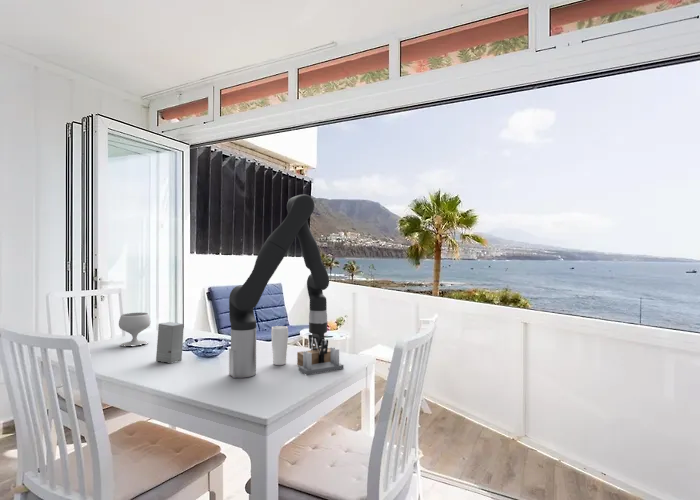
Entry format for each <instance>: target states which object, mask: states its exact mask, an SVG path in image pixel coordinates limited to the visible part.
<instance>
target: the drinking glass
mask: <svg viewBox="0 0 700 500" xmlns="http://www.w3.org/2000/svg"><path fill="white" fill-rule="evenodd" d="M270 337H271V348H272V349H271V350H272V362H273V363H272V364H273V365H275V366H283V365H286V364H287V355H288V353H287V351H288V343H289V327H288V326H286V325H276V326H271V335H270Z"/></svg>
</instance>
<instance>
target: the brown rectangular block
mask: <svg viewBox="0 0 700 500" xmlns="http://www.w3.org/2000/svg"><path fill="white" fill-rule="evenodd" d="M303 351H304V350H303ZM303 351H297V354H296V355H297V358H296V359H297V360H296V363H297V365H298V367H299V366H303ZM307 351H308V353H312V364H318V363H319V353H318V349H317V350H311V349H309V350H307ZM320 351H321V349H320ZM325 362H331V347H328V350H327V354H324V363H325Z"/></svg>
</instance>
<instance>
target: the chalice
mask: <svg viewBox="0 0 700 500" xmlns="http://www.w3.org/2000/svg"><path fill="white" fill-rule="evenodd" d="M150 326H151V317H150V315H149V313H148V312H130V313H124V314H123V313H122V314H121V315H120V317H119V321H118V327H119V329H120V330H122V331H123V332H126V333H128V334H130V335H131V336H132V339H131V340H130V341H127V342H123V343H120V346H121V345H125V346H124V347H126V346H131V345H140V344H145V345H147V344H148V343H147V342H148V341H147V340H139V339H138V335H139V334H140V333H141V332H143V331H145V330H147V328H149V327H150ZM146 341H147V342H146ZM146 343H147V344H146Z"/></svg>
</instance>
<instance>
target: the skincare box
mask: <svg viewBox="0 0 700 500" xmlns="http://www.w3.org/2000/svg"><path fill="white" fill-rule="evenodd" d="M157 327H158V329H157V340H156V341H157V343H156V353H155V354H156V356H155V361H156V362H157V361H161V362H160V363H164V362H168V363H167V364H173V363H176V362H175V361H177V362H179V361H178V360H180V361H182V360H183V356H182V355H183V343H184V329H185V328H184V327H185V324H184V323H179V322H173V321H168V322H160V323H158V326H157ZM172 362H173V363H172Z"/></svg>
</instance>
